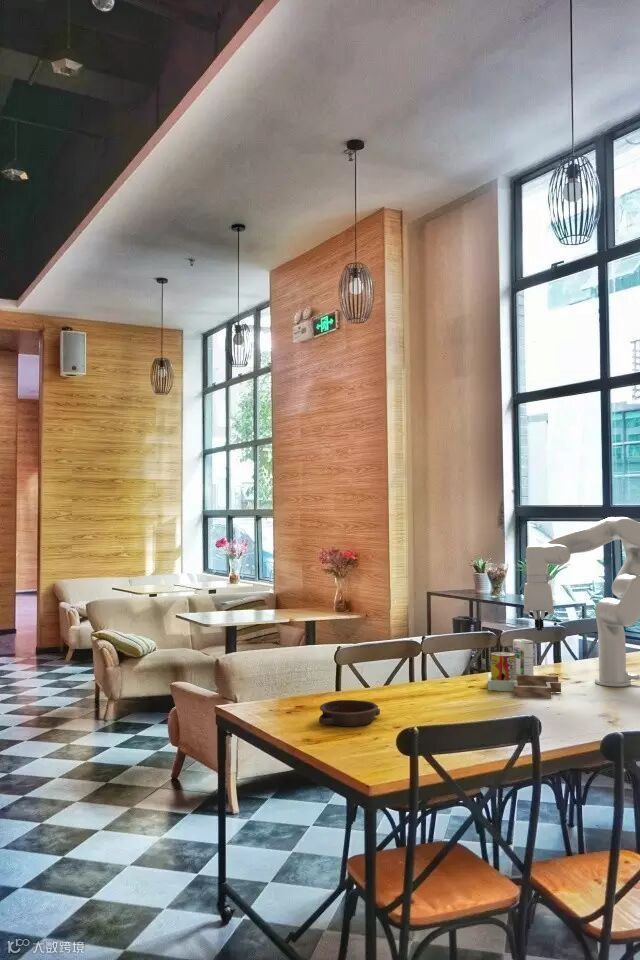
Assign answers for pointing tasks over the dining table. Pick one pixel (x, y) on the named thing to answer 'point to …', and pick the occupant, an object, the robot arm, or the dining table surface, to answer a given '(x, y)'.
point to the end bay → (500, 684)
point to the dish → (348, 712)
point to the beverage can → (503, 666)
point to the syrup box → (523, 656)
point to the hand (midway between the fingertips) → (539, 630)
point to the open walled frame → (535, 691)
